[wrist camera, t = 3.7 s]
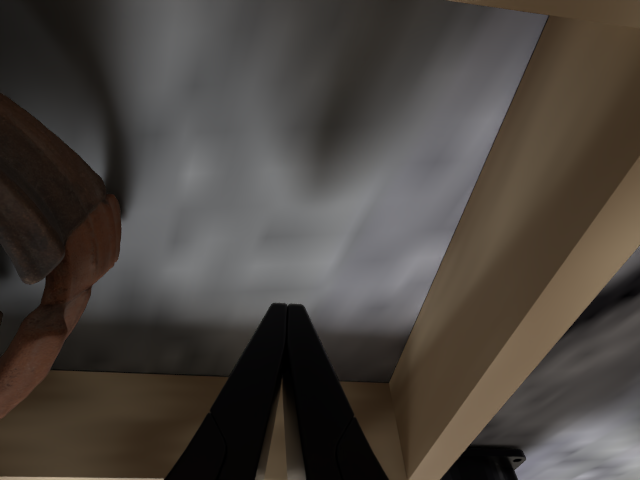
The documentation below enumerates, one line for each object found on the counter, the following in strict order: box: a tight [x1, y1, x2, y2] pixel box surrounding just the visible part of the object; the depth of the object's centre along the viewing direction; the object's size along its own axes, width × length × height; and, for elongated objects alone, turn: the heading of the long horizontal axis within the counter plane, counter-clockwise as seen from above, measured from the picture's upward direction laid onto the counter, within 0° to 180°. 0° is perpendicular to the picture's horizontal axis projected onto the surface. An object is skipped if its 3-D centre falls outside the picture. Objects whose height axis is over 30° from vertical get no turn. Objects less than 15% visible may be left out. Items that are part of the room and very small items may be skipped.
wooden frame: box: [0, 0, 640, 480], centre depth 10 cm, size 21×17×4 cm
